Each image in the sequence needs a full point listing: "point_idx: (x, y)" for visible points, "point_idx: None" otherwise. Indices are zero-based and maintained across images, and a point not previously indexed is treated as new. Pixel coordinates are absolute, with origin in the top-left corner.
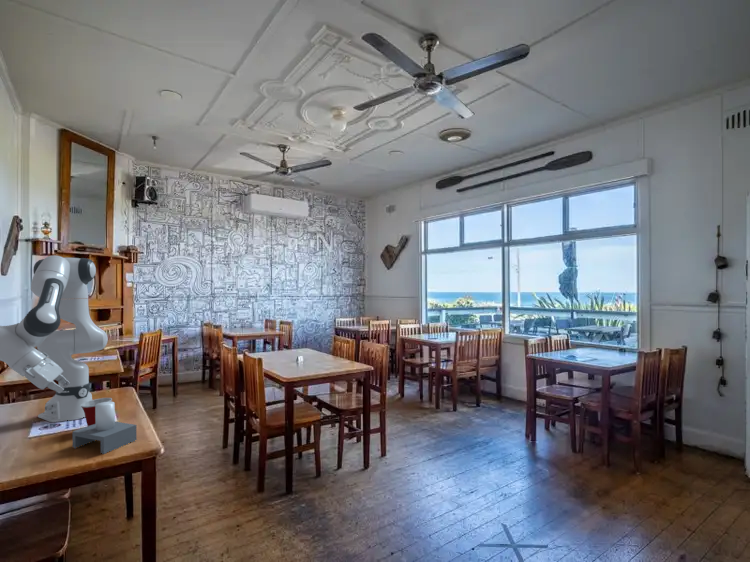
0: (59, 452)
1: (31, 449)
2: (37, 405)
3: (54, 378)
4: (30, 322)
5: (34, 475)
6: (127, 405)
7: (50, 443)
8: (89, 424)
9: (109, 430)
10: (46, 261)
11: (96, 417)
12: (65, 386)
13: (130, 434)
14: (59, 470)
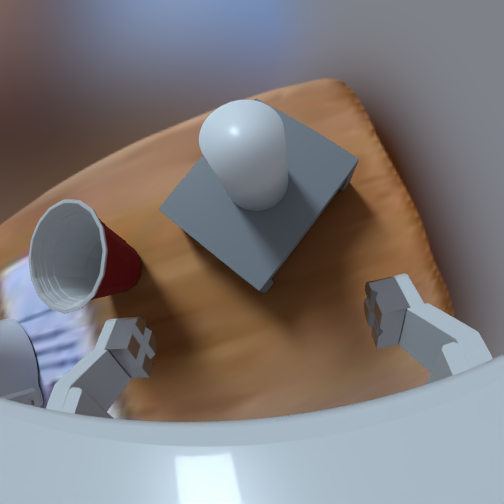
0: (295, 320)
1: (236, 411)
2: None
3: (445, 382)
4: None
5: (446, 313)
6: None
7: (198, 375)
8: (127, 281)
9: (291, 159)
10: None
11: (275, 182)
12: (155, 342)
13: None
14: (433, 262)
